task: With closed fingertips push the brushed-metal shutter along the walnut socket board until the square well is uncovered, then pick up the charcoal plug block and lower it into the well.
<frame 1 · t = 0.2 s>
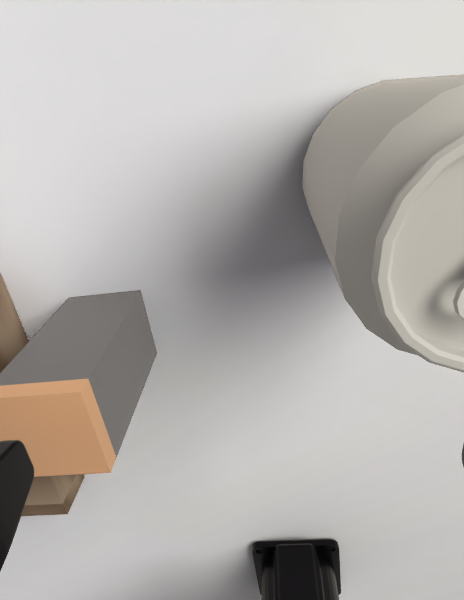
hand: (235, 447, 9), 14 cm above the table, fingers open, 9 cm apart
plug: (114, 326, 25), on the table
can: (379, 168, 20), on the table
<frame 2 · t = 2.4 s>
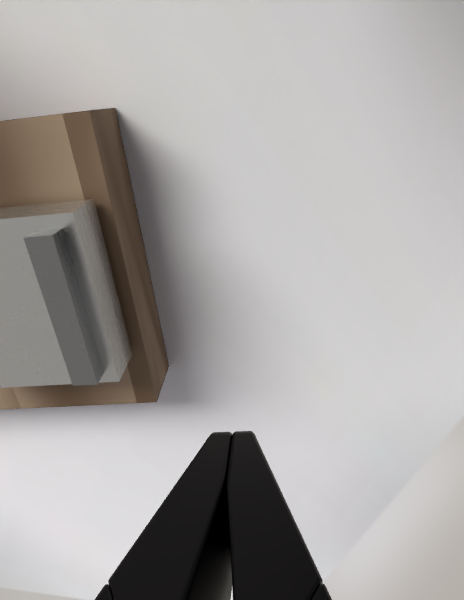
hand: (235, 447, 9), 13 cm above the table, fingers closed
shutter: (17, 304, 16), point 5 cm above the table, slide at 0.0 cm
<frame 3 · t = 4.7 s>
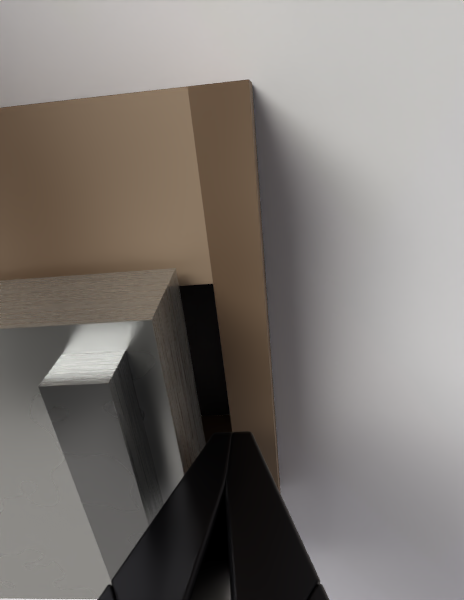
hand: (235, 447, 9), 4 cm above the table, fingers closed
socket board: (10, 347, 13), on the table
shutter: (21, 466, 9), point 5 cm above the table, slide at 1.1 cm, touching gripper
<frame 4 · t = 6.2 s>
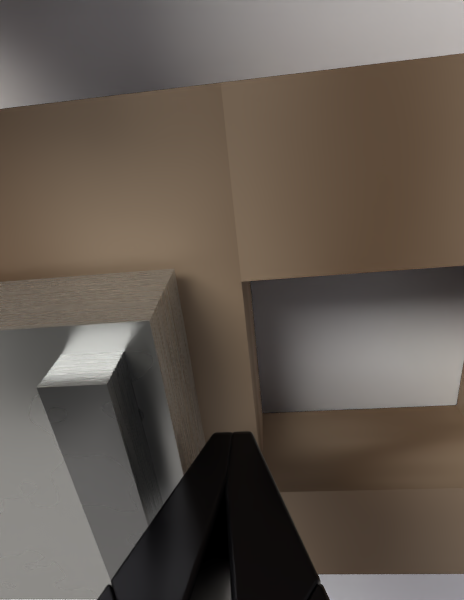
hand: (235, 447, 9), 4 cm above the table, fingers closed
socket board: (221, 335, 12), on the table
shutter: (21, 467, 9), point 5 cm above the table, slide at 7.7 cm, touching gripper
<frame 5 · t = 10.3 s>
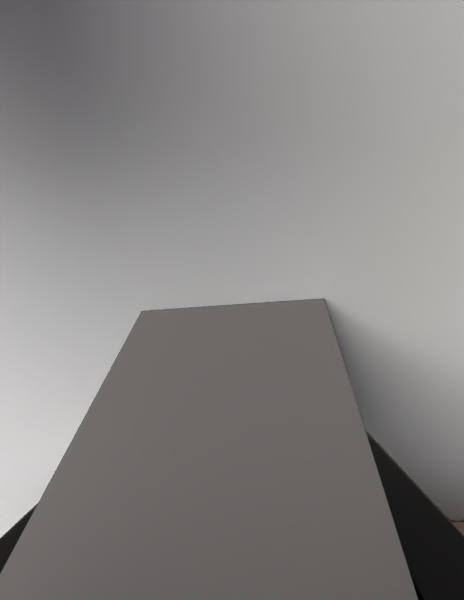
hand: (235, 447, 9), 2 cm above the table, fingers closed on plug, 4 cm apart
plug: (239, 379, 11), on the table, touching gripper
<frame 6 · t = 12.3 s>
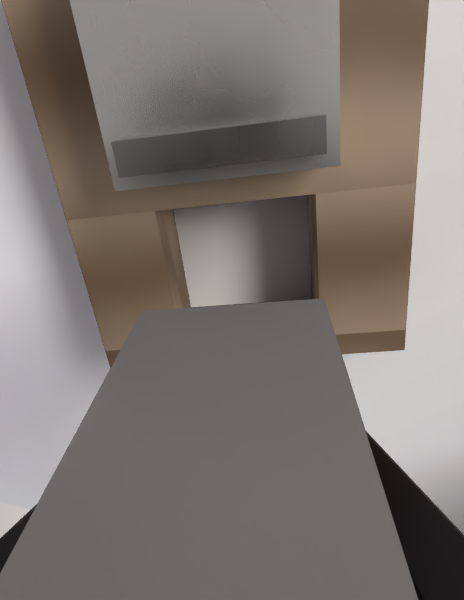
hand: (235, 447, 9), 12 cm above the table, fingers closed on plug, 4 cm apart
plug: (239, 379, 11), point 10 cm above the table, touching gripper
socket board: (234, 162, 18), on the table
shutter: (210, 49, 12), point 5 cm above the table, slide at 7.8 cm
when the fingers open (4 cm above the table, at t = 14.5 s): plug drops 2 cm, resting in socket board.
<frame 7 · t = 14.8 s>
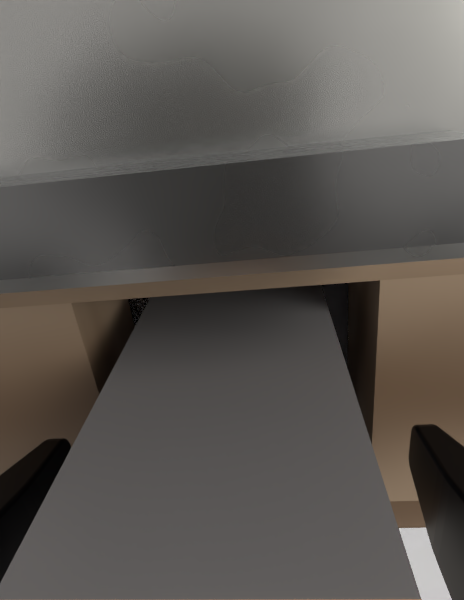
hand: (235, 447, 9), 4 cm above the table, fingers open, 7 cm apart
plug: (243, 341, 12), resting in socket board
socket board: (225, 203, 10), on the table
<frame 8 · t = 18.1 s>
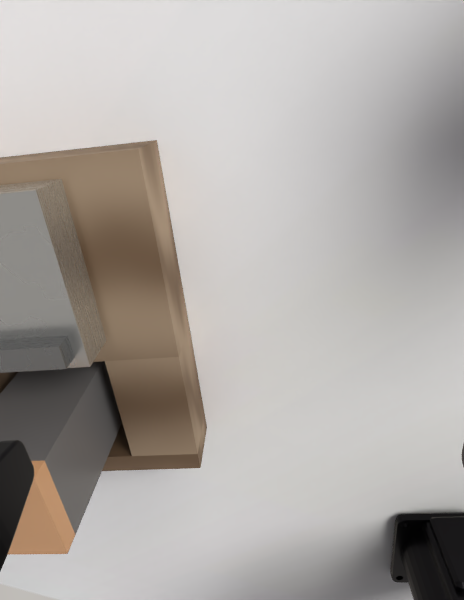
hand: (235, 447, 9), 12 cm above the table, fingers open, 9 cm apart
plug: (85, 377, 24), resting in socket board
socket board: (63, 315, 22), on the table
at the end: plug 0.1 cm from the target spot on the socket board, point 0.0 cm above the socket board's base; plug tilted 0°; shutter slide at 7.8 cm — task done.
